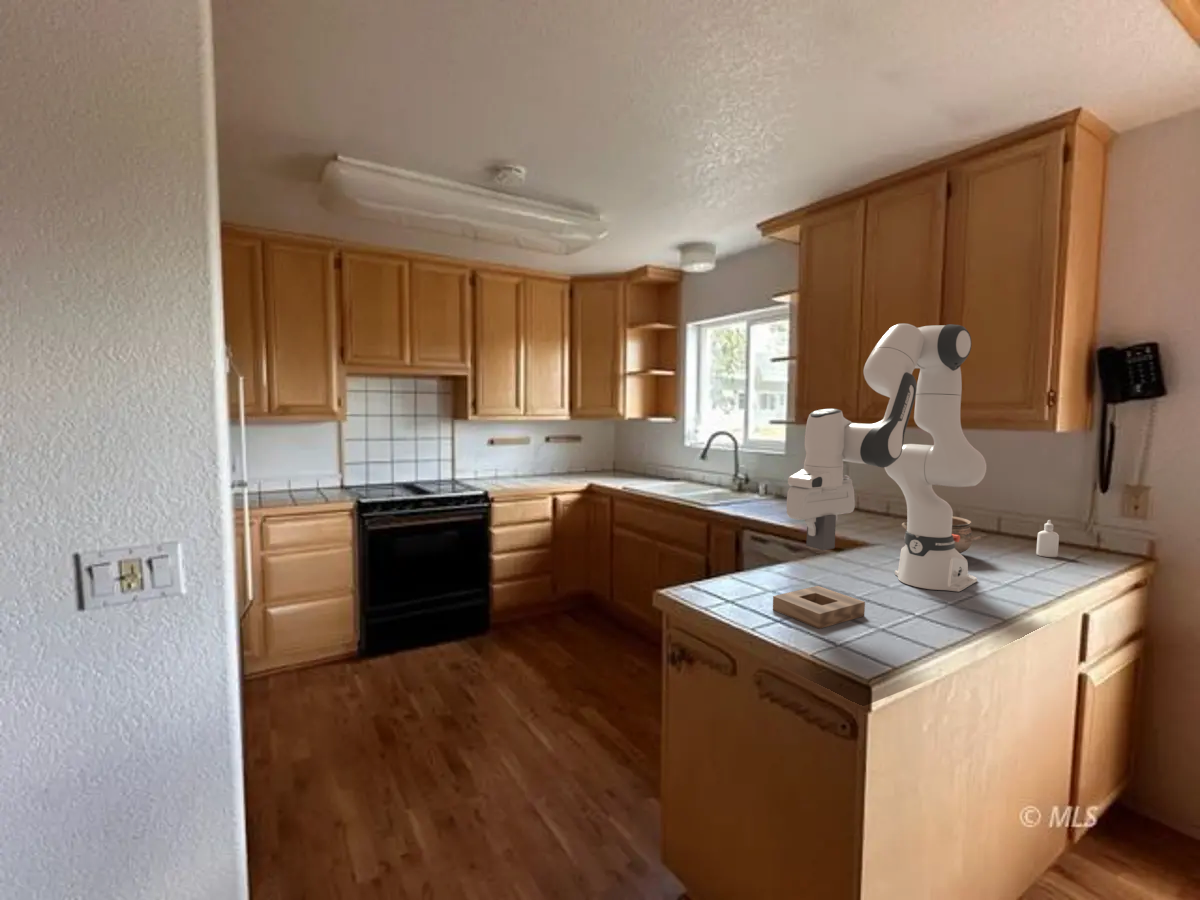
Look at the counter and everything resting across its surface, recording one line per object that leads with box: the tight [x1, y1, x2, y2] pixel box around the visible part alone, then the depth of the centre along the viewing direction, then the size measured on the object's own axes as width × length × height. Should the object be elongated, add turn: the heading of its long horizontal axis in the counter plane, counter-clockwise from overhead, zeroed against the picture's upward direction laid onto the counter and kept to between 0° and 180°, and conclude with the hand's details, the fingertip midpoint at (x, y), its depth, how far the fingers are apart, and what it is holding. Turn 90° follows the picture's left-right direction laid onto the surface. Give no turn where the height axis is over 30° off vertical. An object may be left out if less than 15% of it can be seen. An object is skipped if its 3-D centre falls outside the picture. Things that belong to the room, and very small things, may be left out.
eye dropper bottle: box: [1035, 519, 1060, 558], centre depth 199 cm, size 4×6×12 cm
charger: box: [806, 515, 837, 551], centre depth 145 cm, size 4×5×8 cm
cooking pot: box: [901, 516, 982, 554], centre depth 199 cm, size 25×19×12 cm
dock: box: [772, 585, 866, 630], centre depth 147 cm, size 16×14×4 cm
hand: (820, 534), depth 146 cm, fingers closed on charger, 4 cm apart
